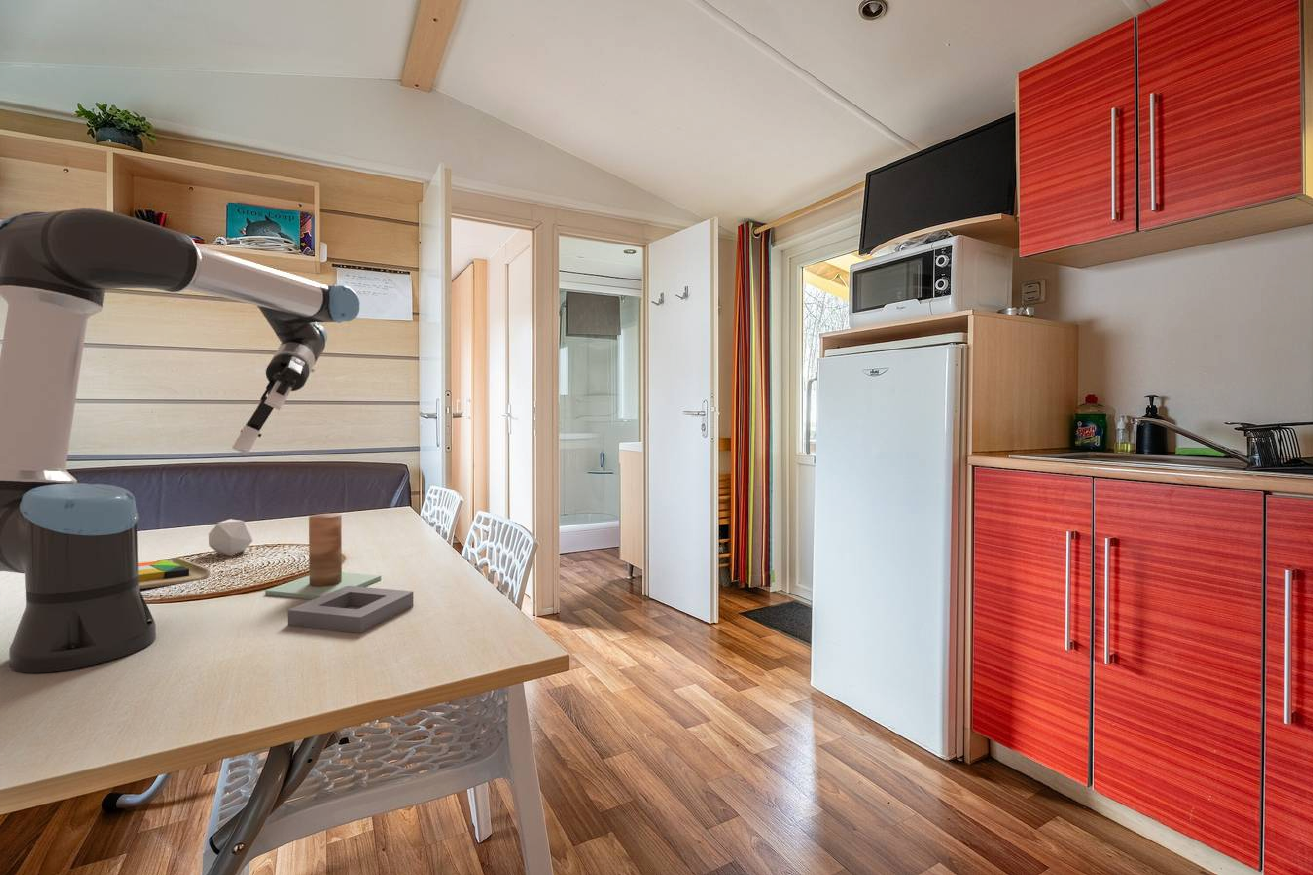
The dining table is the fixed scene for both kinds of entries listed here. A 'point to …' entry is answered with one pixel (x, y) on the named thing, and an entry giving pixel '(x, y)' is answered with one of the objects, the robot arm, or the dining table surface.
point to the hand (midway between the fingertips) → (255, 428)
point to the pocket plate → (337, 617)
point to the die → (230, 537)
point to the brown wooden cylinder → (325, 550)
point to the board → (304, 590)
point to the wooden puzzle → (169, 572)
